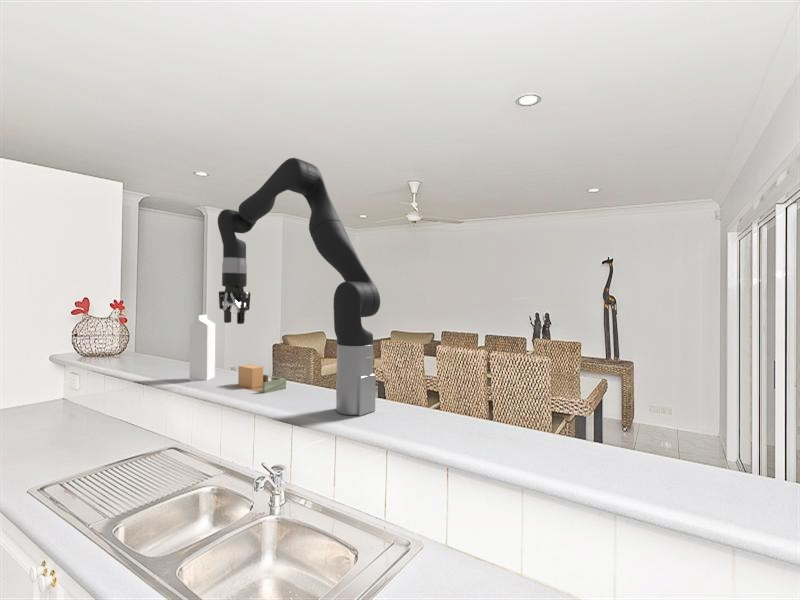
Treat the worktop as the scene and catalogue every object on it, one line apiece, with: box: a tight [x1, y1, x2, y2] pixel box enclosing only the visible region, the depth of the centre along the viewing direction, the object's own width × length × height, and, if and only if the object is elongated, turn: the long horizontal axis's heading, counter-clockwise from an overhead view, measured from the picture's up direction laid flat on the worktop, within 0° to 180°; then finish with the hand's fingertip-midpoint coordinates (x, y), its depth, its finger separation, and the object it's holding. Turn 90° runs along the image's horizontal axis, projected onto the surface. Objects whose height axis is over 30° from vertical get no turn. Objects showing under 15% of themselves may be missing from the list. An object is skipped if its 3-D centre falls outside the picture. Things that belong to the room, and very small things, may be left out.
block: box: [237, 364, 264, 388], centre depth 141 cm, size 7×4×6 cm, turn 55°
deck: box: [233, 374, 287, 394], centre depth 139 cm, size 16×8×4 cm, turn 55°
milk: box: [189, 314, 216, 382], centre depth 151 cm, size 6×6×22 cm
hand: (233, 323), depth 146 cm, fingers open, 6 cm apart
